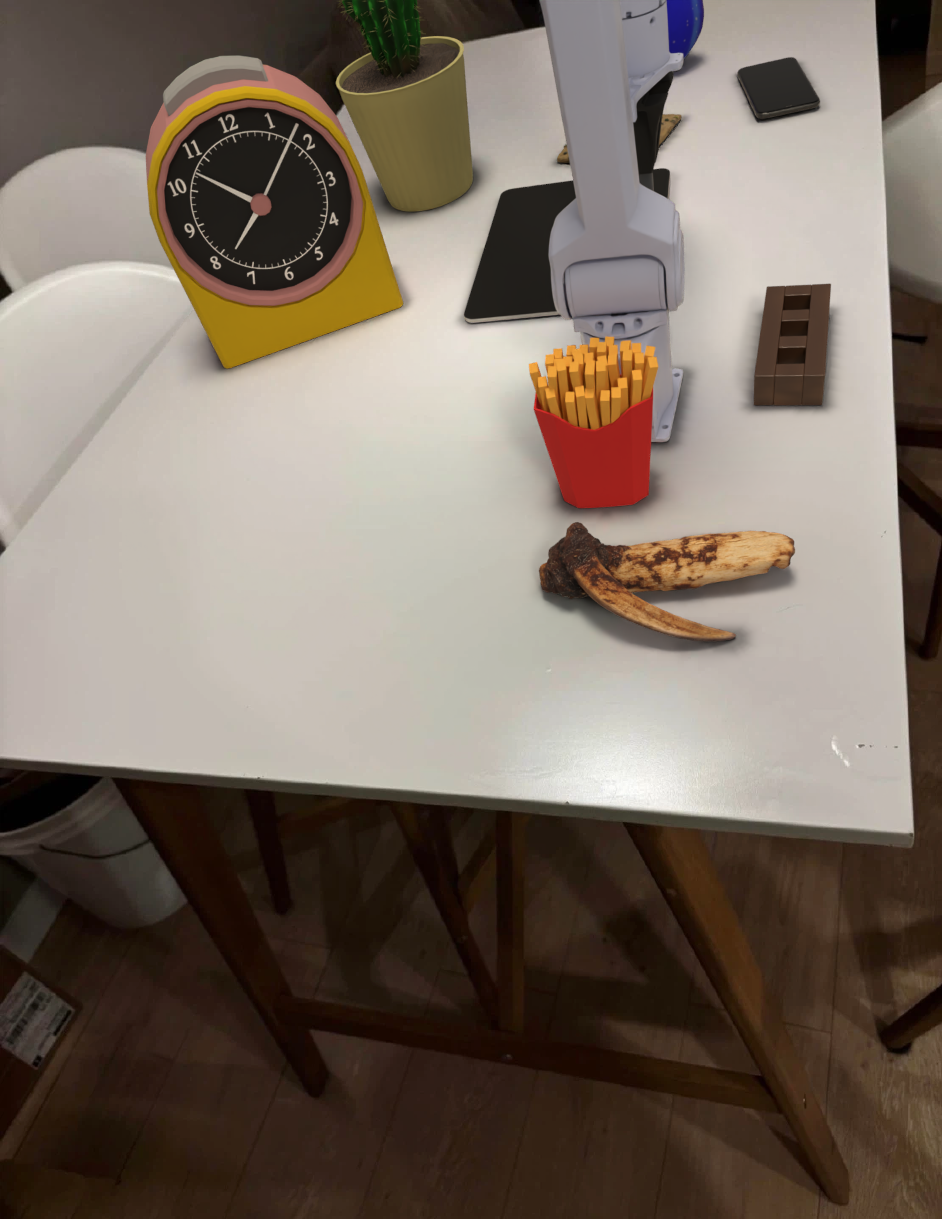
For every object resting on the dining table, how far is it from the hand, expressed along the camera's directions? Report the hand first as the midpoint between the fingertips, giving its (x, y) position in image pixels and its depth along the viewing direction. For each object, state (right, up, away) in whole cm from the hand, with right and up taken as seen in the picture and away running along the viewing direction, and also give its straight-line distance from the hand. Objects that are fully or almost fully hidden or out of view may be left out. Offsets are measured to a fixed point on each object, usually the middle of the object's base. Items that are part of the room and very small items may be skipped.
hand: (643, 167), depth 85 cm
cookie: (+2, +16, +26) cm, 31 cm away
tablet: (-5, -2, +13) cm, 14 cm away
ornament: (+10, +32, +38) cm, 50 cm away
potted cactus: (-22, +12, +30) cm, 38 cm away
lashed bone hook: (-3, -42, -21) cm, 47 cm away
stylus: (+1, -4, +4) cm, 6 cm away
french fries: (-5, -33, -13) cm, 35 cm away
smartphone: (+21, +22, +25) cm, 40 cm away
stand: (+12, -20, -7) cm, 25 cm away
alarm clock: (-35, -9, +15) cm, 39 cm away
